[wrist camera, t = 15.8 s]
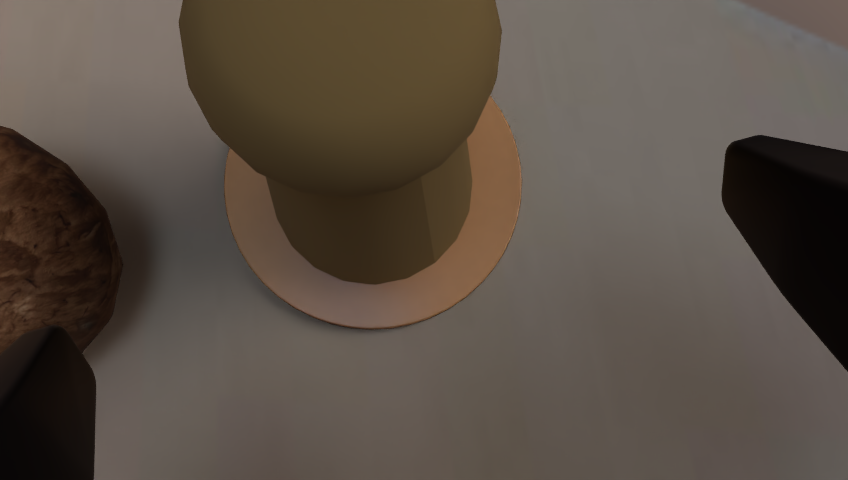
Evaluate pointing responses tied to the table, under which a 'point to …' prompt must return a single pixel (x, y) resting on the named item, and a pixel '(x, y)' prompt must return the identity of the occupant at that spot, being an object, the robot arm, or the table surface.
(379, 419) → the table surface
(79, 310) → the mushroom
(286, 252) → the coaster
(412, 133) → the pepper shaker
